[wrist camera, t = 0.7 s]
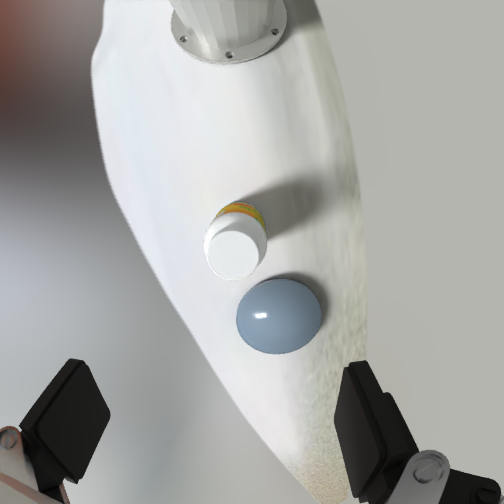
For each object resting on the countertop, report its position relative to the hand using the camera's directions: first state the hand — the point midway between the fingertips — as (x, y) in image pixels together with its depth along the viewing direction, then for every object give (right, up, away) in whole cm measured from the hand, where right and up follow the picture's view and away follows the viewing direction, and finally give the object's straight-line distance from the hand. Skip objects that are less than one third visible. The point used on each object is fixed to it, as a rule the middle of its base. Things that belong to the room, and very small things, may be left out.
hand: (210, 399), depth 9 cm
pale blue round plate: (+5, -2, +25) cm, 25 cm away
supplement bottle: (0, +8, +22) cm, 23 cm away
